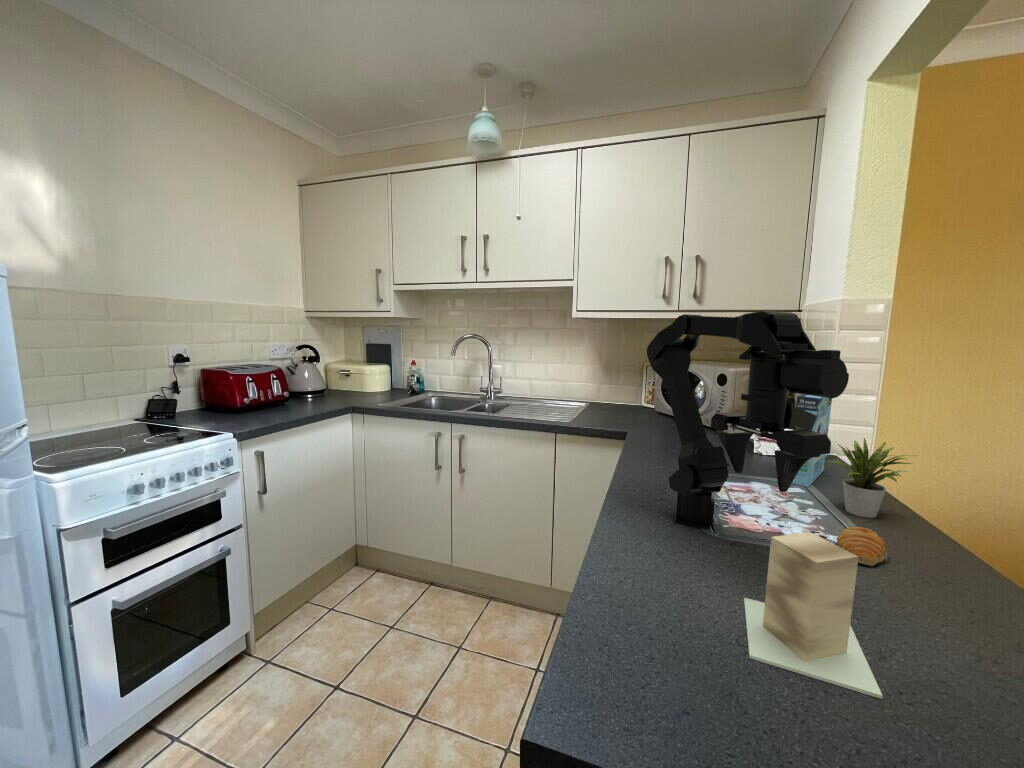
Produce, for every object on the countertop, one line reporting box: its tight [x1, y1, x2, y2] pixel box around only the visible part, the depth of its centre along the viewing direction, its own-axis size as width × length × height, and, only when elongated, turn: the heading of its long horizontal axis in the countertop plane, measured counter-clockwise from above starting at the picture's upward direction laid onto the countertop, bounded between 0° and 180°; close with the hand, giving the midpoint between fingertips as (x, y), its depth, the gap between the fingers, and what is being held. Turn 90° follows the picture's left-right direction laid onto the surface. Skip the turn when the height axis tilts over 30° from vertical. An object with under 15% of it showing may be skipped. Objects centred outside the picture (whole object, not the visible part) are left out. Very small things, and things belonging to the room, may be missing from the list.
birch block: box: [763, 531, 859, 662], centre depth 51 cm, size 6×6×12 cm
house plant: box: [829, 437, 919, 519], centre depth 88 cm, size 14×14×16 cm
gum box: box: [791, 394, 833, 488], centre depth 112 cm, size 20×5×23 cm, turn 134°
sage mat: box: [743, 597, 883, 700], centre depth 51 cm, size 12×12×1 cm
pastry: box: [836, 526, 888, 567], centre depth 72 cm, size 9×7×4 cm
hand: (759, 481), depth 70 cm, fingers open, 9 cm apart
